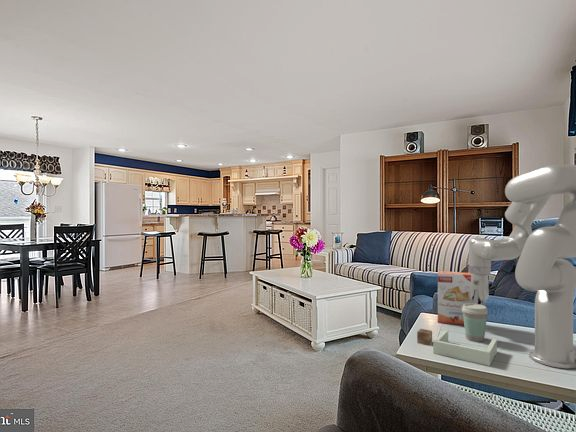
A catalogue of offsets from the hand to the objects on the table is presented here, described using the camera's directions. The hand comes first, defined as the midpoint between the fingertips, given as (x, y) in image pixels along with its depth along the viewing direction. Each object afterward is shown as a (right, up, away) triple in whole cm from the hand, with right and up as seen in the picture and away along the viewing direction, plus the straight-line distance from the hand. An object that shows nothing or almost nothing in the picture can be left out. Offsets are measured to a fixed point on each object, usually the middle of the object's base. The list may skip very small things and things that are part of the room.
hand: (478, 317), depth 138 cm
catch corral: (-15, -6, -21) cm, 27 cm away
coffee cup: (-6, -6, -9) cm, 12 cm away
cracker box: (-4, -6, +10) cm, 12 cm away
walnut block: (-25, -6, -11) cm, 28 cm away
